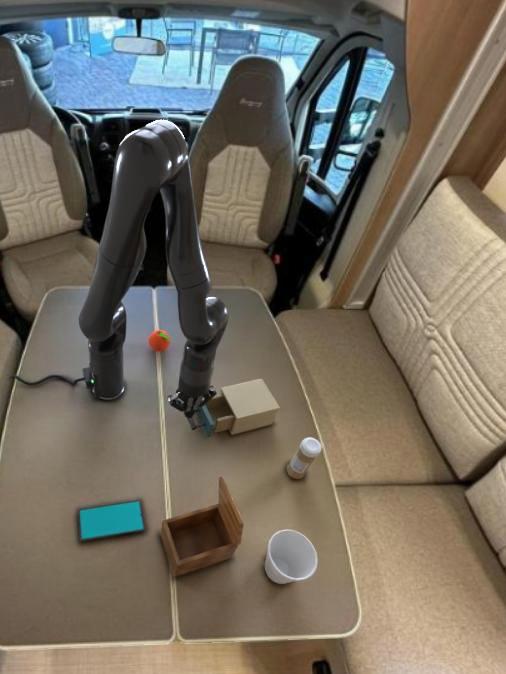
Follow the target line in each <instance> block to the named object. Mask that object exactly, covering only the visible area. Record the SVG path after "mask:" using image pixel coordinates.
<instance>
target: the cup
mask: <svg viewBox="0 0 506 674" xmlns="http://www.w3.org/2000/svg"><path fill="white" fill-rule="evenodd" d="M318 563H319V560H318V554H317V550H316V549H315V546H314V545H313V544H312V542H311V540H309V538H307V537H306V536H305V535H304V534H302V533H301V532H299V531H297V530H294V529H282V530H279V531H277V532H275V533H274V534H273V535H272V536H271V537H270V538H269V541H268V545H267V554H266V558H265V561H264V570H265V573H266V575H267V577H268V578H269V579H270V580H271V581H272V582H274V583H276V584H278V585H285V584H289V583H293V582H303V581H306V580H308V579H310V578H311V577H313V575H314V574H315V573H316V571H317V569H318Z"/></svg>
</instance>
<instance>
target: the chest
mask: <svg viewBox="0 0 506 674" xmlns="http://www.w3.org/2000/svg"><path fill="white" fill-rule="evenodd" d="M159 534H160V539H161V540H162V544H163V548H164V550H165V554H166V557H167V561H168V563H169V567H170V569H171V573H172V575H173V578H176V577H178V576H182V575H184V574H185V575H186V574H189V573H191V572H194V571H196V570H199V569H203V568H205V567H208V566H211V565H214V564H215V565H216V564H218V563H221V562H225V561H227V560H229V559H231V558H232V557H233V555H234V553H235V552H236V550H237V548H239V545H237V544H236V542H235V540H234V537H233V535H232V533H231V530H230V528H229V526H228V523H227V521H226V519H225V517H224V514H223V512H222V510H221V507H220V505H219V503H216V504H213V505H209V506H207V507H203V508H199V509H196V510H193V511H189V512H186V513H182V514H180V515H176V516H173V517H169V518H166V519H164V520H162V521H161V528H160V533H159Z"/></svg>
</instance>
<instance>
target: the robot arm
mask: <svg viewBox="0 0 506 674" xmlns="http://www.w3.org/2000/svg"><path fill="white" fill-rule="evenodd" d="M112 174H113V175H112V182H111V192H110V199H109V203H108V210H107V213H106V217H105V221H104V225H103V231H102V235H101V238H100V241H99V245H98V249H97V253H96V258H95V263H94V267H93V271H92V276H91V279H90V284H89V287H88V288H89V289H88V291H87V292H88V293H87V296H86V299H85V301H84V303H83V306H82V308H81V310H80V313H79V316H78V326H79V329H80V331H81V333H82V334H83V336H84V337H85V338H86V339H87V351H88V357H89V363H88V367H83V368H81V369H82V376H83V377H79V378H75V379H74V380H71V379H70V378H67V377H65V376H63V375H60V374H50V375H48V376H45V377H43V378H41V379H39V380H37V381H32V382H31V381H30V382H29V381H27V380H25V379H23V378H21V377H20V376H19V375H16V374H12V375H10V376H9V379H11V380H12V379H16V380H18V382H21V383H22V384H24V385H26V386H36V385H37V386H38V385H39V384H42V383H44V382H46V381H47V380H50V379H55V378H56V379H60V380H63V381H65V382H67V383H68V384H71V385H74V386H75V385H78V383H80V382H84V383H85V387H86V389H87V390H89V389H92V392H93V394H94V395H93V396H94V399H95V400H99V399H100V400H103V401H113V400H117V399H118V398H119V397H121V396H122V395H123V393H124V391H125V378H124V377H125V376H124V375H125V374H124V344H125V342H126V339H127V325H128V323H127V322H128V321H127V320H128V319H127V311H126V308H125V305H124V303H123V302H122V300H123V299H124V298H125V296H126V295H127V293H128V292H129V290H130V288H131V287H132V286H133V284H134V282H135V281H136V279H137V276H138V274H139V272H140V269H141V268H142V264H143V262H144V259H145V257H146V252H147V238H146V233H145V222H146V218H147V216H148V213H149V211H150V208H151V206H152V203H153V201H154V199H155V197H156V196H157V194H158V193H160V196H161V199H162V203H163V208H164V216H165V256H166V257H165V258H166V262H167V266H168V270H169V273H170V276H171V279H172V282H173V285H174V288H175V291H176V296H177V297H176V298H177V313H178V314H177V315H178V323H179V327H180V330H181V333H182V334H183V336H184V338H185V339H186V341H185V343H184V347H183V354H182V359H181V362H180V369H179V375H178V383H177V385H178V388H177V389H176V391H175V394H173V395H172V394H169V395H167V396H166V399H167V401H168V403H169V405H170V406H171V407H172V408H174V409H176V410H177V411H179V412H181V413H183V415H184V417H185V418H186V419H188V418H194V416H195V415H196V409H197V407H199V406H200V407H203V406H204V405H205V404H206V403H207V402H208V401H210V400H211V399H212V398H213V397H214V396H216V395H218V392H217V390H216V389H215V386H214V385H212V384H211V383H212V378H213V374H214V367H215V359H216V355H217V349H218V346H219V345H220V343H221V340H222V338H223V336H224V333H225V332H226V328H227V327H228V322H229V310H228V307H227V305H226V303H224V301H223V300H221V299H220V298H218V297H214V296H209V294H210V292H211V291H212V289H213V280H212V275H211V271H210V268H209V266H208V261H207V258H206V255H205V252H204V248H203V244H202V239H201V235H200V229H199V224H198V217H197V210H196V204H195V203H196V202H195V197H194V189H193V182H192V180H193V179H192V172H191V164H190V155H189V151H188V145H187V142H186V139H185V137H184V135H183V132H182V131H181V130H180V128H179V127H178V126H177V125H176V124H174V123H173V122H171V121H168V120H164V119H163V120H162V119H160V120H159V119H158V120H155V121H153V122H151V123H148V124H146V125H145V126H143V127H140V128H138V129H137V130H134V131H132V132H131V133H129V134H127V135H126V136H125V137H124V139H123V140H122V141H121V142H120V144H119V146H118V149H117V151H116V155H115V159H114V167H113V173H112ZM202 399H203V401H202Z"/></svg>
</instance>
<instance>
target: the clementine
mask: <svg viewBox="0 0 506 674" xmlns="http://www.w3.org/2000/svg"><path fill="white" fill-rule="evenodd" d="M171 343H172V341H171V337H170V335H169V334H168V333H167V332H166V331H165V330H162V329H156V330H154V331H153V332H151V333H150V334H149V337H148V345H149V347H150V349H151V350H153V351H154V352H158V353H160V352H164V351H166V350H168V348H169V346H170V344H171Z"/></svg>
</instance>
